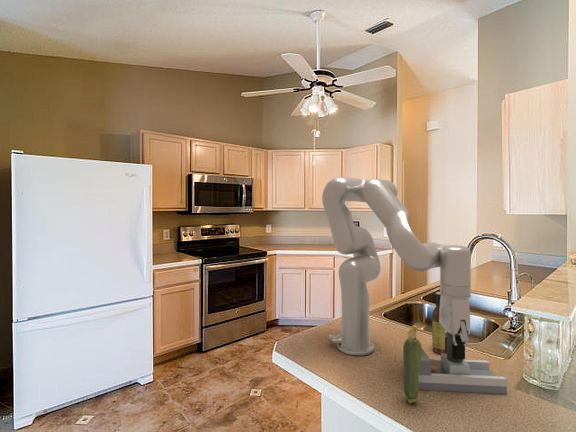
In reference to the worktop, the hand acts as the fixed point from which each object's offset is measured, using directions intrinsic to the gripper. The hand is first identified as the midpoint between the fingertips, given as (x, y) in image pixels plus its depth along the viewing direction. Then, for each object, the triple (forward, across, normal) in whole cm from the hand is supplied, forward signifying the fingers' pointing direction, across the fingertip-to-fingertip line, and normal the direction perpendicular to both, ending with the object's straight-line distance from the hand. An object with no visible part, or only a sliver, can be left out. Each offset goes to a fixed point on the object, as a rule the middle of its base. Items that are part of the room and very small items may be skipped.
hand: (454, 354), depth 88 cm
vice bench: (+8, 0, 0) cm, 8 cm away
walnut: (+6, 0, -6) cm, 8 cm away
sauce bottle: (+8, -19, +4) cm, 21 cm away
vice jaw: (+5, 0, 0) cm, 5 cm away
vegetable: (+8, +10, -14) cm, 19 cm away
